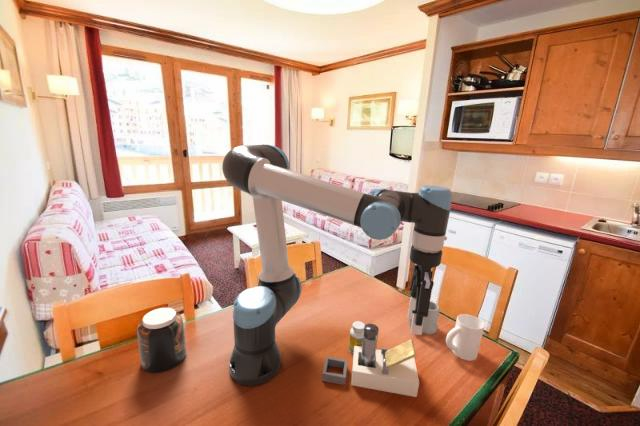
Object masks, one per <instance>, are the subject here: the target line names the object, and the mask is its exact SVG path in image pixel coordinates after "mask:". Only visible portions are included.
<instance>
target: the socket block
mask: <svg viewBox="0 0 640 426" xmlns="http://www.w3.org/2000/svg"><path fill="white" fill-rule="evenodd" d="M387 350H388V347H386V346H382V347H381V349H377V348H376V355H375V363H374V368H372V367H366V366H360V363H361V354H362V347H359V346H354V354H352V356H353V357H352V370H351V379H350V380H351V384H350V386H353V387H354V386H355V387H360V388H365V389H371V390H376V391H380V392H381V391H382V392H387V393H392V394H398V395H403V396H408V397H414V398H418V397H417V396H418V391H419V385H420V380H419V376H418V370H417V365H416V359H415V357H413V358H411V359H409V360H407V361H404V362H402V363H400V364H398V365H396V366H393V367H391V368H389V367H384V366H383V352H385V351H387Z"/></svg>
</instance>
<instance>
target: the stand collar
mask: <svg viewBox="0 0 640 426" xmlns="http://www.w3.org/2000/svg"><path fill="white" fill-rule="evenodd" d="M328 367H332V368H333V367H334V368H340V369H343V374H339V373H335V372H328ZM347 368H348V360H347V359H342V358H338V357H332V356H331V357H330V356H325V360H324V365H323V371H322V375H321V376H322V378H321V379H322V380H321V381H322V382H327V383H333V384H338V385H343V386H345V385H346V381H347V379H346V378H347V371H348V369H347Z"/></svg>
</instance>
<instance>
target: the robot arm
mask: <svg viewBox="0 0 640 426" xmlns="http://www.w3.org/2000/svg"><path fill="white" fill-rule="evenodd" d="M222 161H223V162H222V174H223V176H224V178H225V180H226V182H227V183H228V184H229V185H230V186H232V187H233V188H234V189H237V190H238V191H242V192H244V193H246V194H247V195H249V196H250V197H252V201H253V207H254V208H253V209H254V218H255V223H256V231H257V239H258V245H259V246H258V247H259V255H260V256H259V257H260V262H261V269H262V270H261V271H260V272H259V274H258V284H259V285H258V286H257V285H256V286H252V288H250V287H249V288H246V289H244V290H242V291H241V292H240V293H239V294H238V295H237V296H236V298H235V299H234V302H233V309H232V319H233V335H234V336H233V337H234V345H233V349H232V352H231V354H230V358H229V360H228V368H229V369H228V370H229V374H230V376H231V379H232V380H233V381H235V382H236V383H238V384H240V385H243V386H249V387H251V386H252V387H253V386H259V385H263V384H265V383H267V382H269V381H270V380H272V379H273V378H274V377H275V376H276V375H277V373H278V372H279V370H280V368H281V363H282V362H281V360H282V359H281V358H282V354H281V351H280V350H279V346H278V345H277V342H276V326H277V325H278V323H280V321H281V320H282V319H283V317H284V316H285V315H287V313H288V312H289V311H290V310H291V309H292V308H293V307H294V306H295V305H296V304H297V302H298V301H299V299H300V297H301V294H302V290H303V287H302V281H301V279H300V278H299V277H298V276H297V274H296V273H295V270H294V268H293V267H291V266H290V263H289V256H288V255H289V254H288V246H287V245H288V244H287V237H286V236H287V235H286V228H285V219H284V217H285V216H284V210H283V202H284V203H285V202H286V203H289V204H290V205H294V206H297V207H300V208H303V209H306V210H309V211H312V212H314V213H316V214H320V215H324V216H327V217H329V218H332V219H335V220H338V221H341V222H343V223H346V224H350V225H353V226H356V227H358V228H360V229H361V230H362V232H364V234H365V235H366V236H368V238H371V239H373V240H377V241H378V240H379V241H381V240H386V239H388V238H390V237H392V236H393V235H394V233H396V232H397V230H398V228H400V225H401V222H405V223H410V224H411V223H412V224H414V226H413V230H412V236H411V237H412V238H411V246H410V252H409V260H410V262H412V263H413V267H412V274H411V280H410V288H409V291H410V297H409V304H408V310H407V319H408V320H409V319H412V325H411V327H410V334H412V335H419V336H422V334H423V333H422V329H423V323H424V317H428V311H429V304H430V301H431V298H432V297H431V296H432V293H433V292H432V291H433V287H434V285H435V284H434V283H435V282H434V281H433V280H432V278H433V275H434V274H433V273H434V272H433V271H432V269H434V268H436V267H439V266H440V265H441V264H442V263H441V262H442V256H443V249H444V244H445V241H447V239H448V237H447V236H446V234H447V229H448V224H449V219H450V212H451V209H452V208H451V207H452V201H453V200H452V199H453V198H452V197H453V192H452V191H451V189H450V188H447V187H444V186H440V185H439V186H437V185H429V184H428V185H425V184H424V185H422V186H420V187H419V191H418V192H407V191H402V190H401V191H400V190H393V189H392V190H391V189H387V188H372V189H371V191H370V192H369V194H367V193H365V192H363V191H359V190H355V189H352V188H349V187H346V186H343V185H339V184H336V183H332V182H329V181H326V180H322V179H320V178H316V177H314V176H311V175H307V174H303V173H301V172H300V173H299V172H296V171H294V170H291V169H290V161H289V159H288V156H287V155H286V153H285V152H284V151H283V150H282V149H281V148H280V147H278V146H275V145H270V144H253V145H249V144H247V145H243V144H242V145H238V146H235V147H233V148H232V149H230V150H229V151H228V152H227V153H226V154H225V156H224V158H223V160H222ZM282 201H283V202H282Z"/></svg>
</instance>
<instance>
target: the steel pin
mask: <svg viewBox="0 0 640 426" xmlns="http://www.w3.org/2000/svg"><path fill="white" fill-rule="evenodd" d="M378 337H379V326H378V325H376V324H373V323H366V324H365V326H364V335H363V344H362V354H361V363H360V366H366V367H372V368H374V363H375V355H376V349H377V345H378Z"/></svg>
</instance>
